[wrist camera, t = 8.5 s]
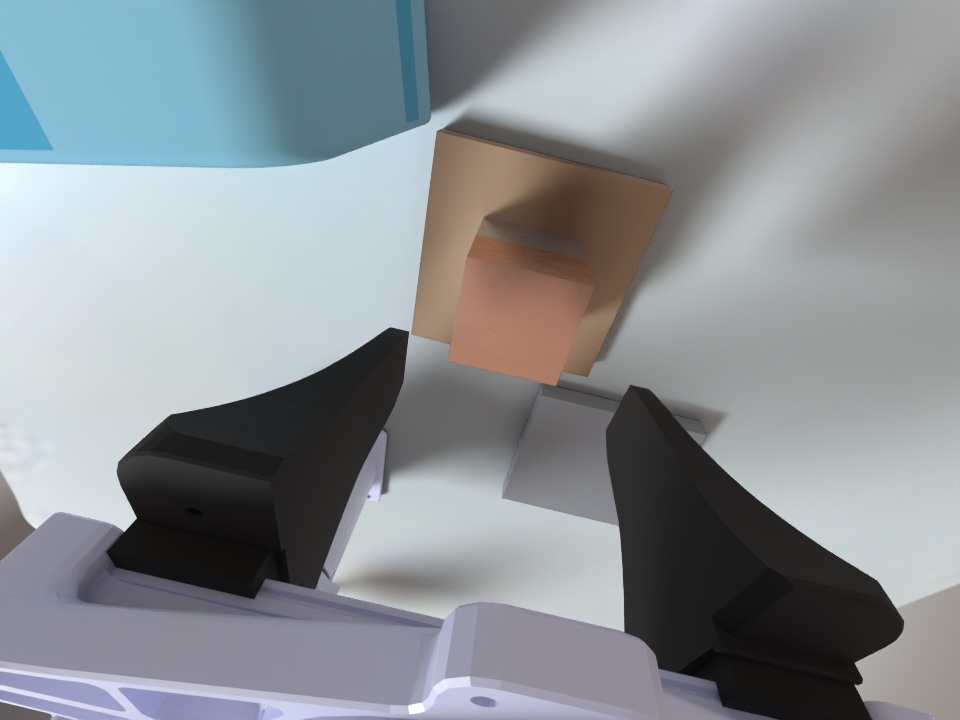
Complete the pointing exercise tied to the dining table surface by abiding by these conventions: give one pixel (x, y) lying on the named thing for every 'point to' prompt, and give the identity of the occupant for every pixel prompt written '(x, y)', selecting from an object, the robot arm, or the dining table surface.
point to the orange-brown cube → (521, 301)
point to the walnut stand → (538, 205)
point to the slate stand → (570, 455)
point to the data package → (208, 80)
